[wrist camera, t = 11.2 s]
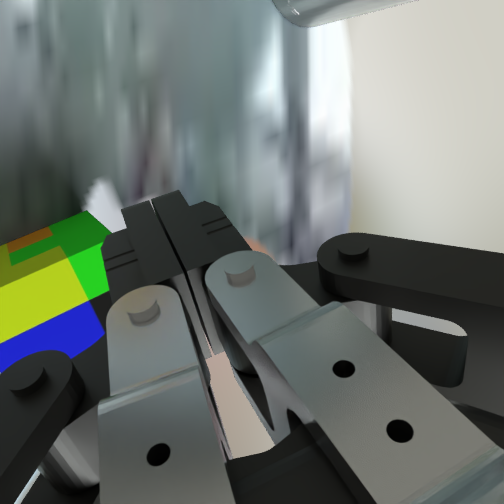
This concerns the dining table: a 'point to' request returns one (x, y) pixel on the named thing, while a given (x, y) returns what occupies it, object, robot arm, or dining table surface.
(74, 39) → the dining table surface
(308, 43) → the dining table surface
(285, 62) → the dining table surface
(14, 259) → the puzzle toy
